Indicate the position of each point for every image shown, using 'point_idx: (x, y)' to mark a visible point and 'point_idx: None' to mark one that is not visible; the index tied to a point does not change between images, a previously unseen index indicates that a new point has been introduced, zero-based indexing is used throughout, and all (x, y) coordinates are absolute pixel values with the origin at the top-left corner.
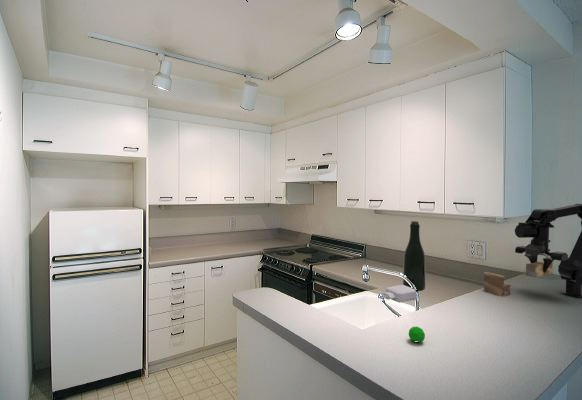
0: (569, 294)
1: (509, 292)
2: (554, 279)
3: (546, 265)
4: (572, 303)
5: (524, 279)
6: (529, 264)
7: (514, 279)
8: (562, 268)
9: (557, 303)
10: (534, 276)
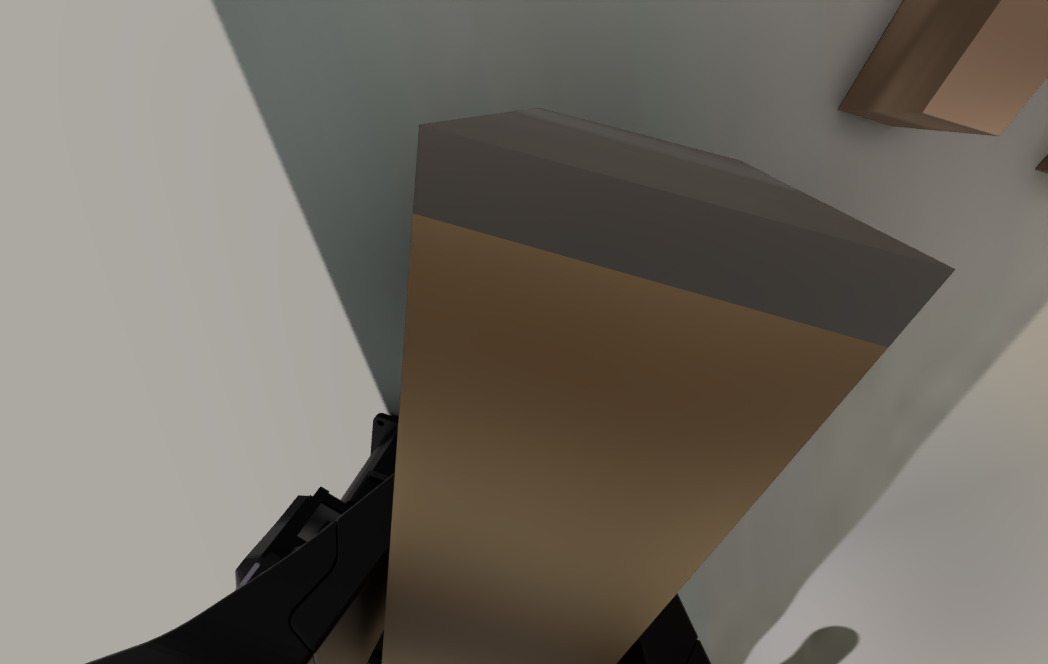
0: None
1: (865, 88)
2: None
3: (308, 541)
4: (347, 268)
5: (722, 604)
6: (741, 291)
7: (790, 583)
8: (374, 654)
9: (405, 174)
10: (536, 109)
